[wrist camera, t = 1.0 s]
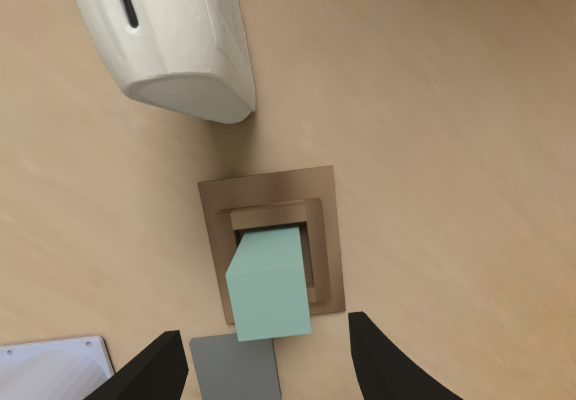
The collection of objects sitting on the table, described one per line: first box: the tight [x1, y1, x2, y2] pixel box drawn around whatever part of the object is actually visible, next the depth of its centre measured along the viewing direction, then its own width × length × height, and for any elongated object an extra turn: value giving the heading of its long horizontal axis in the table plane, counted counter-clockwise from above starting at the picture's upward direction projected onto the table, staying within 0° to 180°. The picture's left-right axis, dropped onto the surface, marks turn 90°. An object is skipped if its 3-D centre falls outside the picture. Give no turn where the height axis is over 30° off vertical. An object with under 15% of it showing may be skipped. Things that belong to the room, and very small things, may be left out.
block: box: [225, 223, 312, 341], centre depth 17 cm, size 4×4×7 cm
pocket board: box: [198, 165, 346, 324], centre depth 20 cm, size 10×12×2 cm
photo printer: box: [75, 0, 256, 124], centre depth 12 cm, size 10×4×12 cm, turn 11°
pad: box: [189, 334, 281, 400], centre depth 23 cm, size 7×7×1 cm
